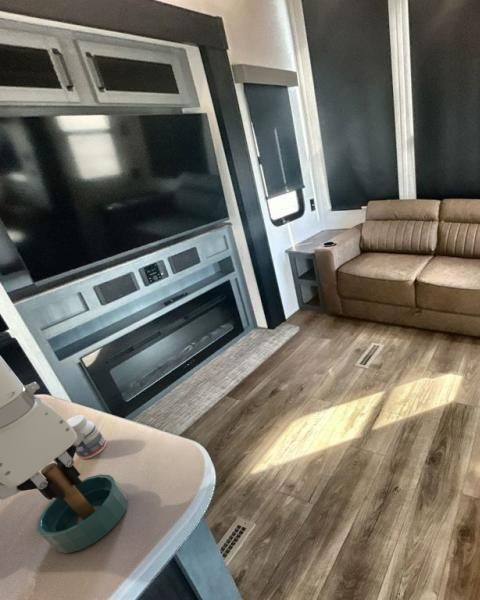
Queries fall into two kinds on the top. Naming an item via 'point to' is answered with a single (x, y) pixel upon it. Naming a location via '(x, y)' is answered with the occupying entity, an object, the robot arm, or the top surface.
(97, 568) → the top surface
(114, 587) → the top surface
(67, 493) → the wooden peg
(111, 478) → the bowl
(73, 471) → the robot arm
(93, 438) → the pill bottle
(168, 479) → the top surface
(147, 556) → the top surface
